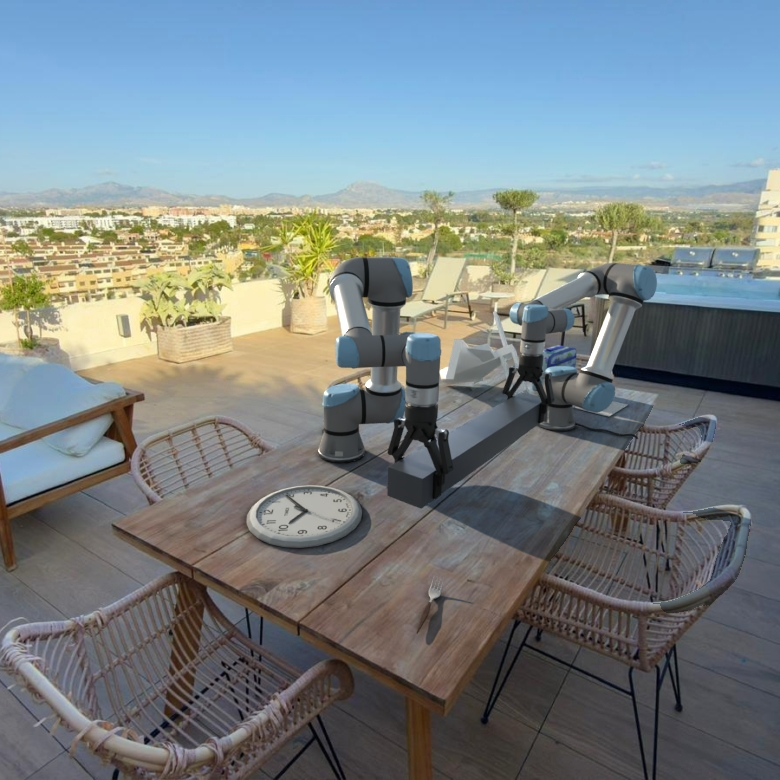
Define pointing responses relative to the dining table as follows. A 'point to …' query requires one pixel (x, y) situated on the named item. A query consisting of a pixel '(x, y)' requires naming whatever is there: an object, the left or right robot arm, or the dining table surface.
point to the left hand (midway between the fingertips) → (418, 489)
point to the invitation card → (609, 409)
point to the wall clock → (304, 516)
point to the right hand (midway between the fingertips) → (525, 418)
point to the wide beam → (464, 449)
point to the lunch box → (557, 358)
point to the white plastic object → (479, 361)
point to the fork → (433, 594)
